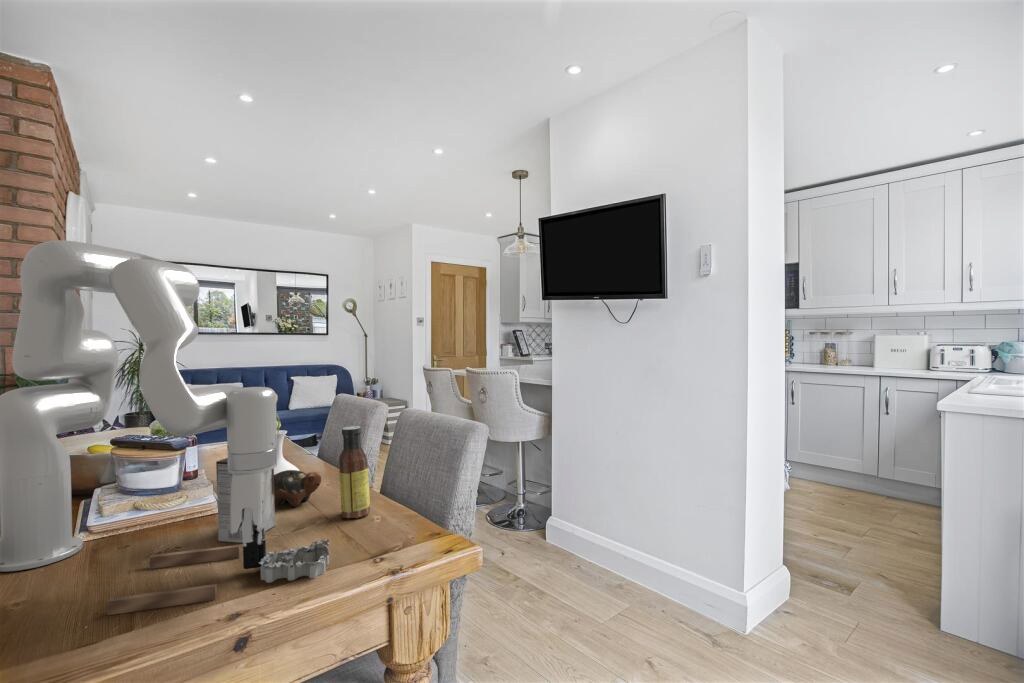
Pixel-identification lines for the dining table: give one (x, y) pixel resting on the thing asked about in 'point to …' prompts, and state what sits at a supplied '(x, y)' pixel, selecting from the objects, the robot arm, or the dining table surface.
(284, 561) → the egg carton
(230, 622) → the dining table surface
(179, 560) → the pair of wooden bars
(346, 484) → the sauce bottle
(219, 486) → the coffee box
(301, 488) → the decorative turtle
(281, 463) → the flower in vase
